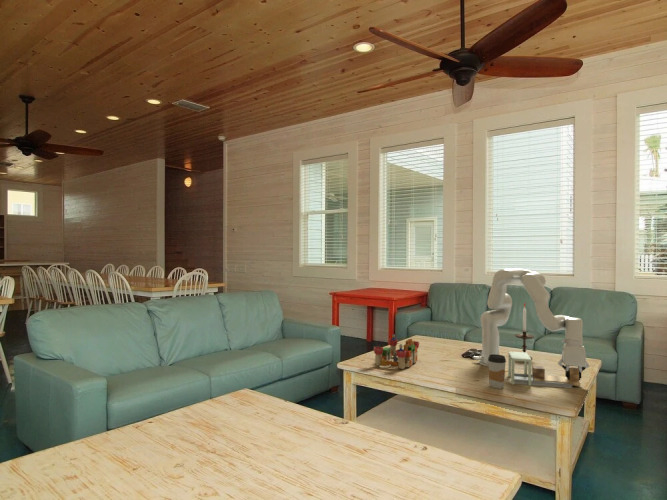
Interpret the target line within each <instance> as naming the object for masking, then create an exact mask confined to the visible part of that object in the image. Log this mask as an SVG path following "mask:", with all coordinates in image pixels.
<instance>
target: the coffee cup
mask: <svg viewBox="0 0 667 500" xmlns="http://www.w3.org/2000/svg"><path fill="white" fill-rule="evenodd" d="M488 362H489V366H488V376H489V377H488V378H489V385H490V387H491V388H494V389H504V386H505V376H506V362H507V359H506V356H505V355H502V354H499V355H497V354H492V355H489V357H488Z"/></svg>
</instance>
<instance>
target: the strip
mask: <svg viewBox="0 0 667 500" xmlns="http://www.w3.org/2000/svg"><path fill="white" fill-rule="evenodd" d="M569 372H570V379H567V377H566V376H561V375H560V376H559V375H548V374H545V379H538V378H533V379H534V380H535V381H544V382H556V383H568V384H572V387H573V386H575V387H581V382H580V380H579V369H578V367H577V366H570V367H569ZM532 377H533V376H532Z"/></svg>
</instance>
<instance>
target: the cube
mask: <svg viewBox="0 0 667 500" xmlns="http://www.w3.org/2000/svg"><path fill="white" fill-rule="evenodd" d="M545 370H546V369H545V368H544V366H542V365H541V366H539V365H531V374H532V376H533V378H538V379H545V375H546V371H545Z"/></svg>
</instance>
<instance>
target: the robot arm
mask: <svg viewBox="0 0 667 500" xmlns="http://www.w3.org/2000/svg"><path fill="white" fill-rule="evenodd" d="M507 284H510V285H511V284H514V285H515V284H521V285H522V286H523V288H524V289H525V291H526V292H527V293H528V296H530V298H531V299H532V301H533V302H534V306H535V307H534V308H535V311H536V316H537V317H538V319H539V321H540V322H541V323H542V325H543V326H544V327H545V328H546V329H547V330H548V331H550V332H558V331H562V330H563V331H564V333H565V334H564V336H565V337H564V339H561V343H564V344H563V345H562V351H561V358H560V360H559V361H558V363H557V365H559V366H560V367H562V368H563V369H564V371H565V373H564V374H565V376H564V377H567V379H570V372H569V367H577V368H578V369H579V381H581V379H582V373H583V371H586V369H588V368H590V365H589V363H588V361H587V358H586V357H587V354H586V349H585V346H584V345H583V322H584V321H583V320H582V318H580V317H574V316H573V317H571V316H567V315H564V314H559V315H554V314H553V312H552V311H551V310H550V307H549V300H550V298H551V295H550V293H549V292H548V291H547V289H546V288H545V285H546V278H545V276H544V275H543V274H542V273H540V272H537V271H531V270H529V269H523V268H504V269H499V270H497V271H496V272H495V273H494V275H493V277H492V283H491V287H490V291H489V293H488V298H487V303H486V304H487V307H488V308H489V309H491V310H486V311H484V312H483V313H482V314H481V316H480V326H481V343H482V344H481V354H480V355H479V356H478V355H477V356H475V355H474V356H473V360H476V361H478V362H479V363H478V364H479V365H481V366H484V367H489V362H488V357H489V355H492V354H497V355H500V332H499V328H498V327H501V326H504V325H506V324H507V322H508V320H509V317H510V314H511V311H512V310H511V309H512V306H513V298H512V297H511V295H510V294H509V293H507V290H508V287H507Z"/></svg>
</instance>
